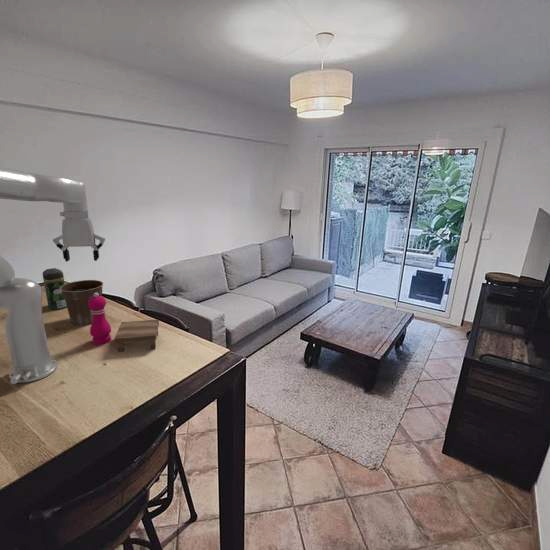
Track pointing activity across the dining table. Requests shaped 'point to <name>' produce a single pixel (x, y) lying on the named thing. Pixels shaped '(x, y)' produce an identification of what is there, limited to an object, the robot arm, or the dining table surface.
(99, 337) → the pepper mill
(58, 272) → the coffee jar
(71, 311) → the plant pot
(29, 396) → the dining table surface
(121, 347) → the wooden stool
